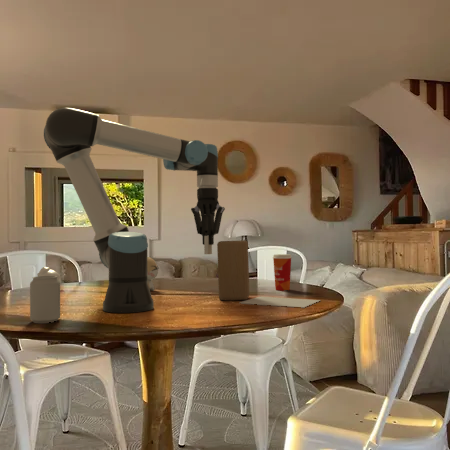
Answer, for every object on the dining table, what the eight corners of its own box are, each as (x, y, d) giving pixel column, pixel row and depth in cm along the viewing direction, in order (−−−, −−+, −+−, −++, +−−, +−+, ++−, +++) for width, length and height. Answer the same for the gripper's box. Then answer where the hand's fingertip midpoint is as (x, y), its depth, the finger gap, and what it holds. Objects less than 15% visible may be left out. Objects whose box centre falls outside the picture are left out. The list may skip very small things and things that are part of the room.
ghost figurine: (41, 290, 194) (41, 266, 194) (64, 290, 194) (64, 265, 194) (31, 293, 185) (31, 267, 185) (55, 293, 185) (55, 267, 185)
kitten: (155, 293, 182) (155, 254, 182) (129, 293, 182) (129, 254, 182) (160, 288, 197) (160, 252, 197) (136, 288, 197) (136, 252, 197)
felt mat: (303, 308, 143) (303, 307, 143) (239, 303, 154) (239, 302, 154) (320, 301, 157) (320, 300, 157) (260, 297, 168) (260, 296, 168)
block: (249, 296, 168) (247, 240, 169) (248, 300, 158) (246, 240, 159) (221, 297, 169) (220, 241, 170) (218, 300, 159) (216, 241, 160)
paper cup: (269, 289, 191) (269, 254, 191) (287, 288, 193) (286, 254, 193) (277, 291, 183) (277, 255, 184) (295, 290, 186) (295, 254, 186)
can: (63, 318, 130) (63, 274, 130) (55, 323, 122) (54, 277, 123) (36, 318, 130) (36, 275, 130) (25, 324, 122) (25, 277, 122)
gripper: (228, 187, 170) (229, 253, 169) (197, 189, 176) (198, 253, 176) (218, 186, 163) (218, 254, 163) (186, 188, 169) (187, 254, 169)
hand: (208, 254), depth 169 cm, fingers closed
